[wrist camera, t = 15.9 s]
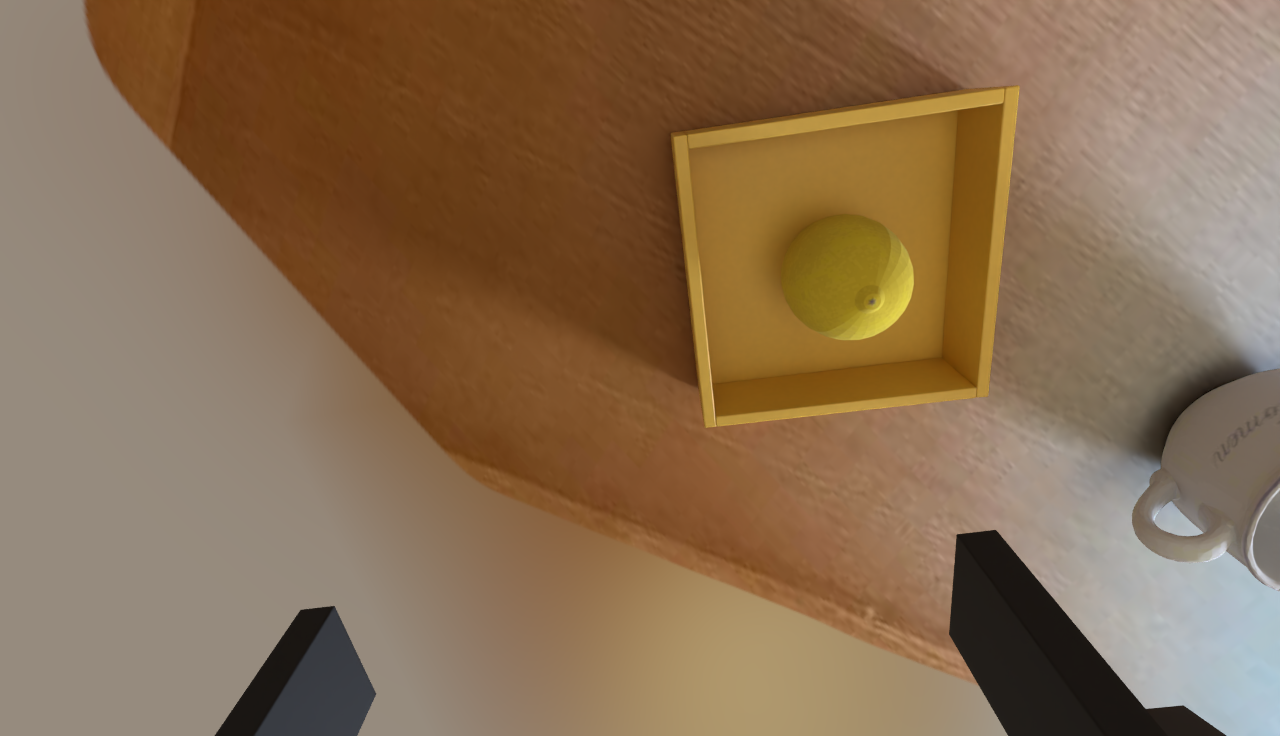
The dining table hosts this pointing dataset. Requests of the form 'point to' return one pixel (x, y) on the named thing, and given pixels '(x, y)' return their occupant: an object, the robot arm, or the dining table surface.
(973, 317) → the yellow bin
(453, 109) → the dining table surface
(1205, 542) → the teacup
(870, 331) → the lemon
